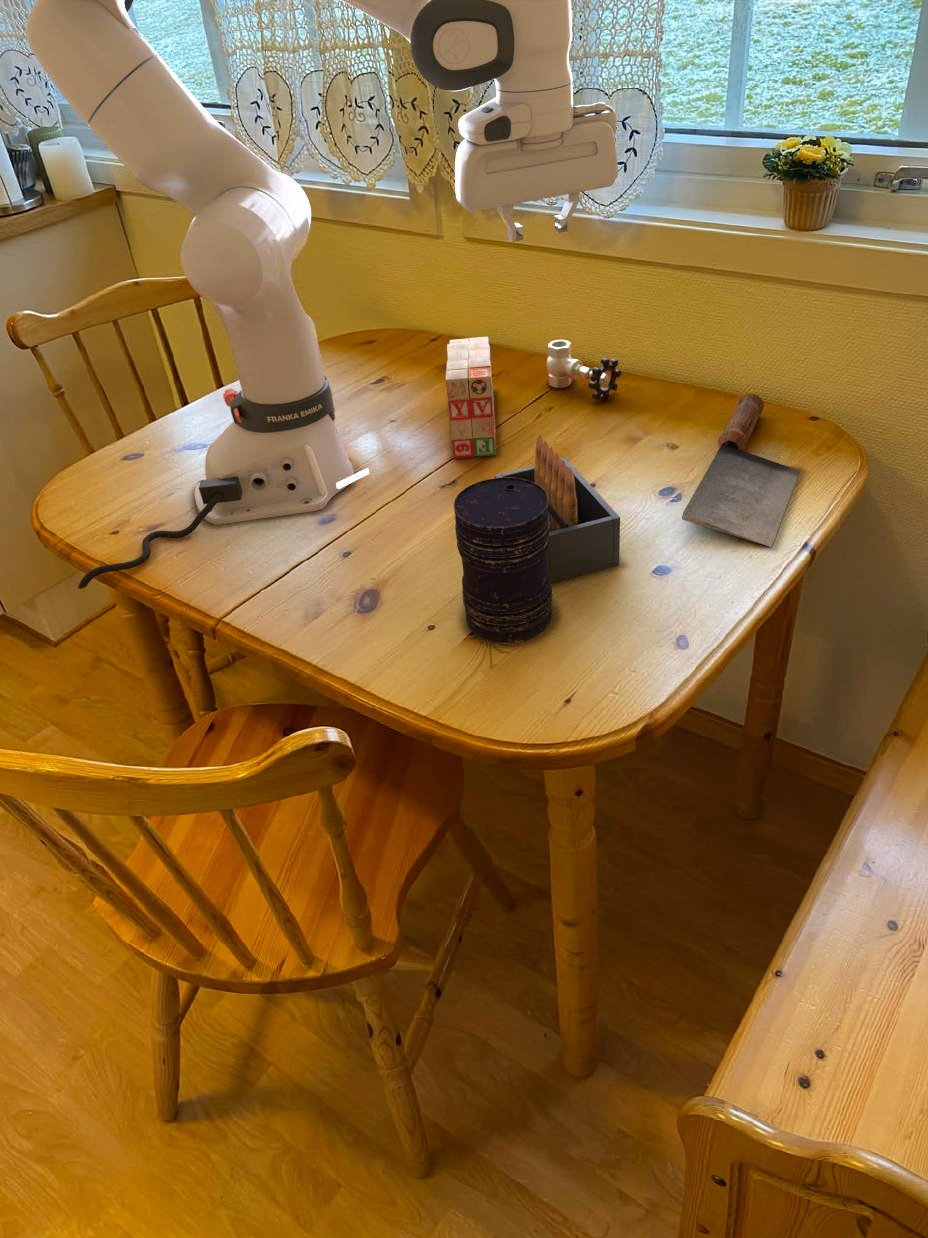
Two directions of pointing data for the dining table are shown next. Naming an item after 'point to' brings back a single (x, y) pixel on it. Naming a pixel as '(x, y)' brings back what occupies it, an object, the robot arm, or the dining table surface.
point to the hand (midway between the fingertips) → (539, 235)
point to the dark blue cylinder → (505, 558)
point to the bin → (581, 532)
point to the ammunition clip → (556, 486)
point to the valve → (579, 370)
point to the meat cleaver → (742, 484)
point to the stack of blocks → (470, 397)
